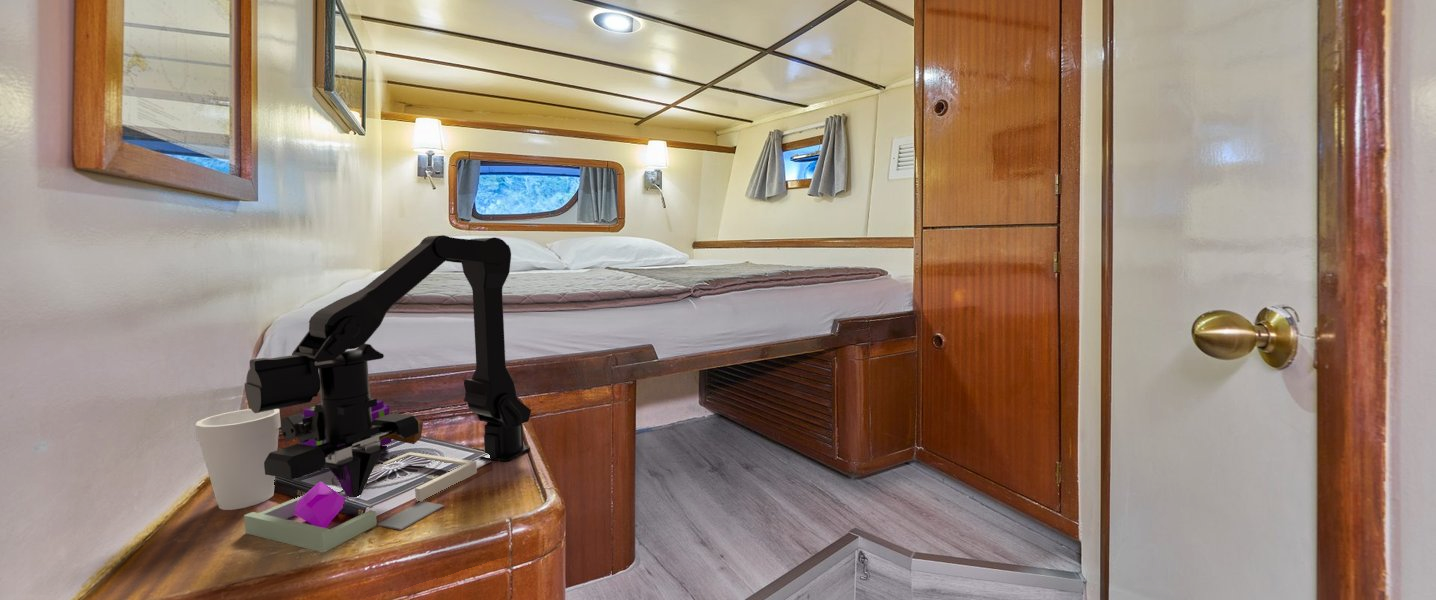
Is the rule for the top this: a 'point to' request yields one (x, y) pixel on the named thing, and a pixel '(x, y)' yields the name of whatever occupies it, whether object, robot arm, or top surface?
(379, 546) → the top surface
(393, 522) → the mat
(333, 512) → the crystal
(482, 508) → the top surface
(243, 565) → the top surface
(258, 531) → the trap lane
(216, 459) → the foam cup
